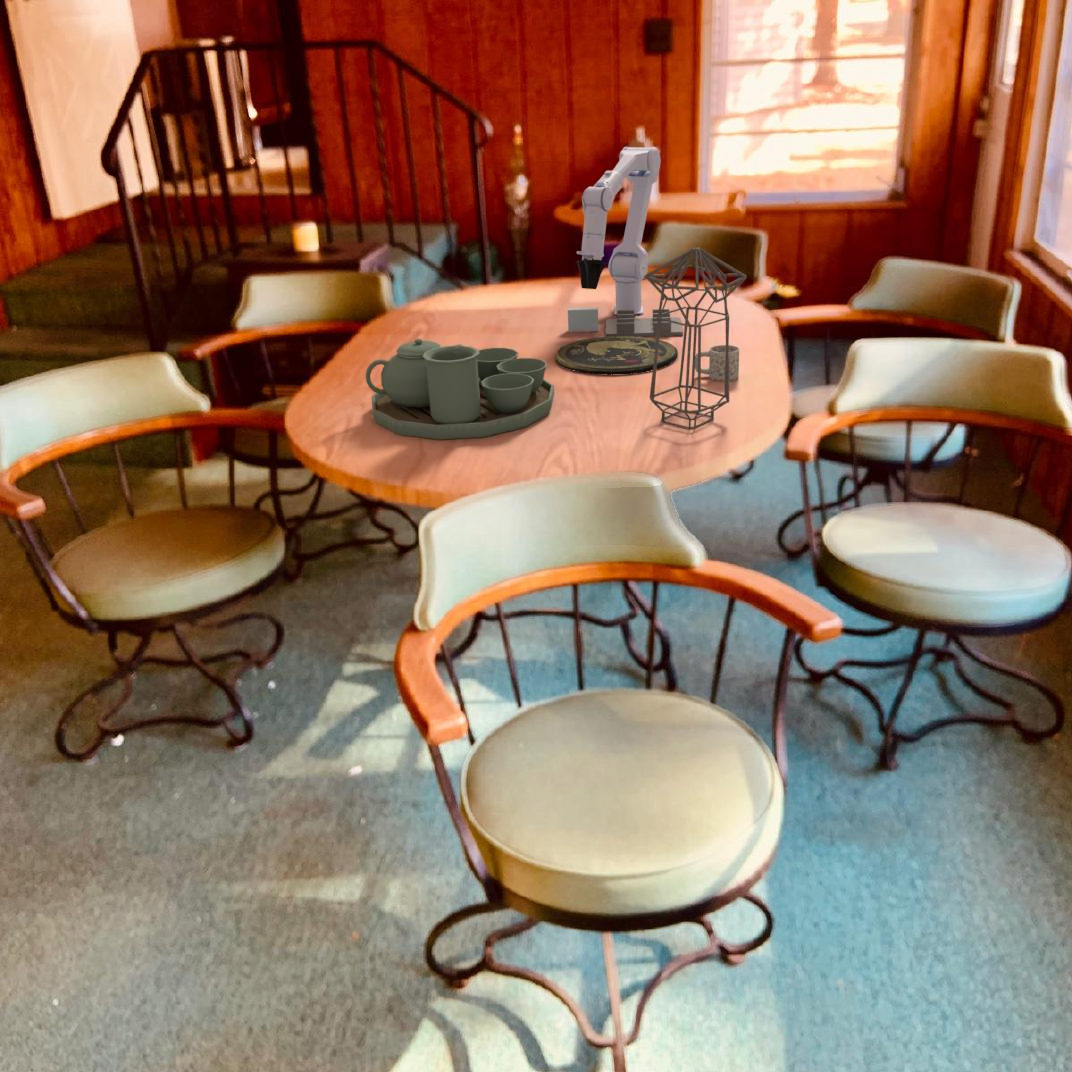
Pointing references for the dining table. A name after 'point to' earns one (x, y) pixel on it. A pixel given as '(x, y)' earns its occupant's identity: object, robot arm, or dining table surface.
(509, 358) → the tea set
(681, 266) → the geometric lantern
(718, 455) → the dining table surface
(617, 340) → the decorative plate
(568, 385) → the dining table surface
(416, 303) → the dining table surface
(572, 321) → the grey rectangular block
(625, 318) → the grey slotted organizer
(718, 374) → the mug
